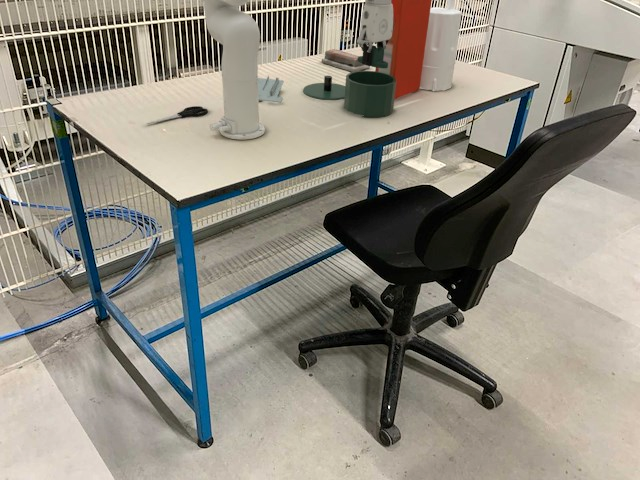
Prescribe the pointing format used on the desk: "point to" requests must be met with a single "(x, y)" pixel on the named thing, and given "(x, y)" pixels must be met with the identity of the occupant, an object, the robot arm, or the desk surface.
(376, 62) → the mount
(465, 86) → the desk surface
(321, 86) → the lid
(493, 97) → the desk surface
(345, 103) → the pot
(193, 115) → the scissors
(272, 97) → the metal bracket
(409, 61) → the file binder
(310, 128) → the desk surface
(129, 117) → the desk surface
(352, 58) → the packaged product
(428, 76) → the white cylindrical canister
